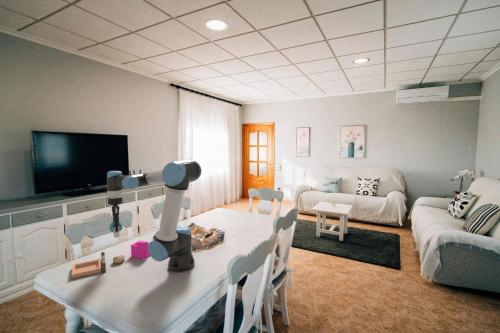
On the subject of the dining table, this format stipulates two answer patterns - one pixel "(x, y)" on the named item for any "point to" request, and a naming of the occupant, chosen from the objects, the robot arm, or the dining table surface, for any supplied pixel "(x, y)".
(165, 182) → the robot arm
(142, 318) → the dining table surface
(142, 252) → the magenta block
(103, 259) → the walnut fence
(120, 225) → the ball
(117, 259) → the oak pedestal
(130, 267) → the dining table surface
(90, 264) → the terracotta dish
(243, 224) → the dining table surface
